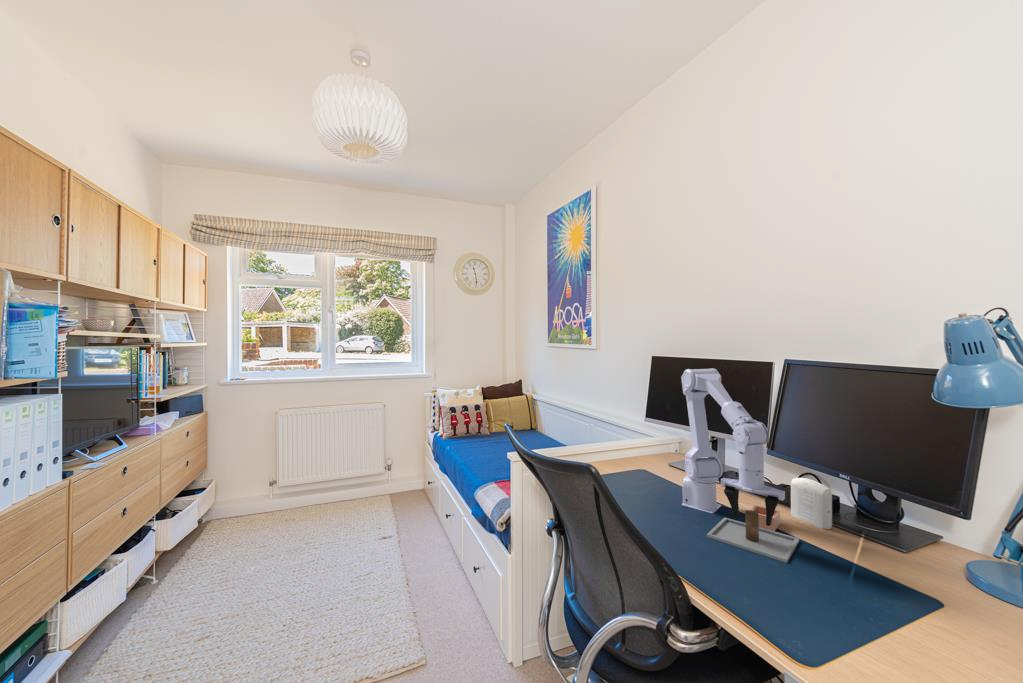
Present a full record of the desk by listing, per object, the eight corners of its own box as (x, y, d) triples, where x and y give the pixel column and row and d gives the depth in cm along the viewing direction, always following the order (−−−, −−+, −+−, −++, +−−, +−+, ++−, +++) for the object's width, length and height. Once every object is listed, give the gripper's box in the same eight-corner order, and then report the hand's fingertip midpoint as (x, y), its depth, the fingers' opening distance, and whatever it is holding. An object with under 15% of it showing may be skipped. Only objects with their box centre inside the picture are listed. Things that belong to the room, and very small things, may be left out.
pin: (744, 539, 105) (743, 512, 105) (747, 534, 107) (747, 509, 107) (757, 543, 103) (756, 516, 103) (760, 538, 105) (759, 512, 105)
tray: (706, 538, 106) (706, 534, 106) (724, 521, 116) (724, 517, 116) (786, 565, 93) (786, 559, 93) (799, 543, 103) (799, 538, 103)
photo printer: (835, 529, 110) (834, 485, 110) (824, 532, 109) (823, 487, 109) (798, 514, 120) (798, 473, 120) (788, 516, 119) (787, 475, 119)
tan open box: (749, 525, 113) (749, 511, 113) (755, 518, 117) (755, 505, 117) (774, 532, 109) (774, 518, 109) (780, 525, 113) (779, 511, 113)
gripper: (716, 466, 107) (717, 516, 107) (779, 478, 97) (780, 534, 97) (725, 460, 112) (726, 508, 112) (786, 471, 102) (787, 524, 102)
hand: (752, 519), depth 105 cm, fingers open, 7 cm apart
